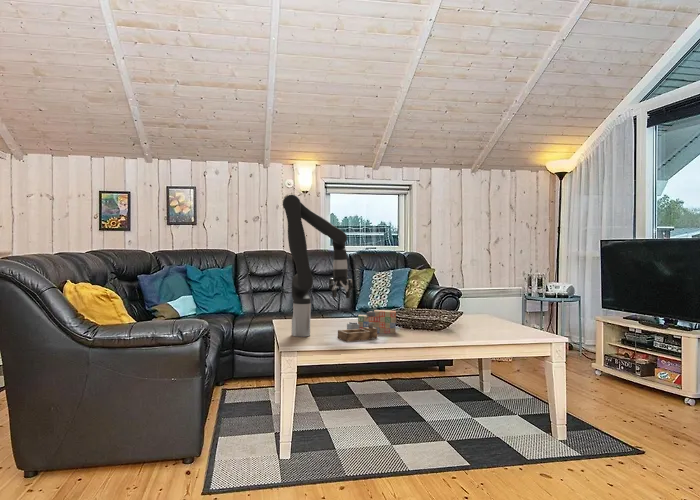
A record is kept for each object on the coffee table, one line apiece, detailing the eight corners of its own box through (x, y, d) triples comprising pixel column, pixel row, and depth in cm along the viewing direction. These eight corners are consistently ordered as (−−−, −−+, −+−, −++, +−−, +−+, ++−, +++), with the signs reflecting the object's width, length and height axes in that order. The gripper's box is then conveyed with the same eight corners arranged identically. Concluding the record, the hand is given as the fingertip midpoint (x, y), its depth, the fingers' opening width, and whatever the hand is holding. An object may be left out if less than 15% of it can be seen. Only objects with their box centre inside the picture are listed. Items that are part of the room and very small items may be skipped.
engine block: (351, 335, 269) (351, 323, 269) (346, 334, 274) (347, 321, 274) (359, 335, 271) (359, 322, 271) (354, 333, 276) (355, 321, 276)
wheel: (369, 316, 262) (369, 312, 262) (365, 315, 266) (365, 311, 266) (376, 316, 264) (377, 311, 264) (372, 315, 268) (372, 310, 268)
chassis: (346, 341, 252) (347, 325, 252) (337, 337, 262) (338, 322, 262) (379, 338, 262) (379, 323, 262) (369, 335, 271) (370, 320, 271)
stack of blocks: (357, 332, 281) (357, 310, 281) (358, 330, 287) (358, 309, 287) (395, 333, 279) (396, 311, 279) (395, 331, 285) (396, 310, 285)
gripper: (325, 268, 271) (326, 298, 271) (347, 268, 263) (348, 299, 263) (333, 267, 277) (334, 296, 277) (355, 267, 269) (356, 297, 270)
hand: (341, 297), depth 270 cm, fingers open, 8 cm apart
